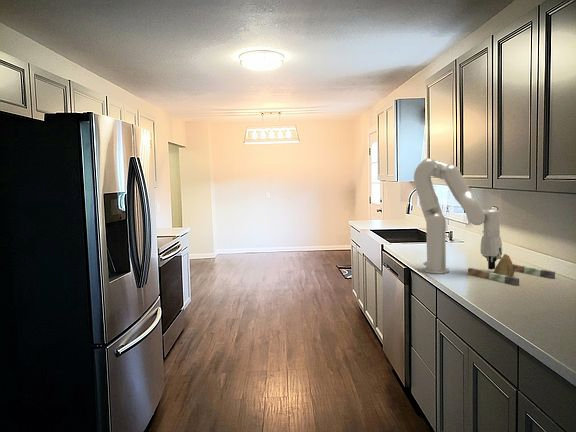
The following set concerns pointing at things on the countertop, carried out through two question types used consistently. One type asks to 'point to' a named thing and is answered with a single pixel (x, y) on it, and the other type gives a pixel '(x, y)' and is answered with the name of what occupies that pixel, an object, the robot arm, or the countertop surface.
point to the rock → (505, 266)
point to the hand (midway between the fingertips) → (491, 268)
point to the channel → (507, 278)
